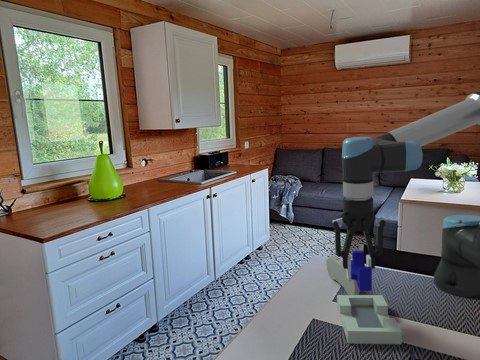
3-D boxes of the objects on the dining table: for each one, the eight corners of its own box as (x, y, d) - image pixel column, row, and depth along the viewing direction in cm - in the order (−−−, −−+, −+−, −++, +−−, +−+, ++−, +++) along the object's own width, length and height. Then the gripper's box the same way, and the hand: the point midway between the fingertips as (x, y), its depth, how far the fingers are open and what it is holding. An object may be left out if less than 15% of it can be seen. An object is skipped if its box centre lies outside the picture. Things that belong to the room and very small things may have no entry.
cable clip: (346, 269, 104) (346, 250, 102) (363, 269, 103) (362, 250, 102) (353, 290, 92) (353, 269, 91) (371, 291, 91) (371, 269, 90)
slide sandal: (361, 300, 109) (361, 275, 108) (354, 301, 109) (354, 276, 107) (332, 273, 128) (331, 251, 126) (326, 274, 128) (325, 252, 126)
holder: (382, 305, 105) (382, 295, 105) (401, 344, 88) (401, 331, 88) (337, 305, 107) (337, 295, 106) (347, 343, 90) (347, 331, 89)
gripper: (389, 192, 95) (388, 272, 100) (322, 194, 98) (324, 272, 102) (397, 199, 88) (396, 285, 92) (324, 201, 90) (327, 285, 95)
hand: (358, 278), depth 97 cm, fingers closed on cable clip, 4 cm apart
